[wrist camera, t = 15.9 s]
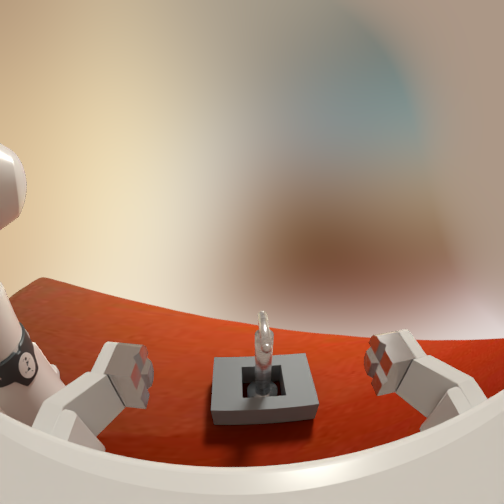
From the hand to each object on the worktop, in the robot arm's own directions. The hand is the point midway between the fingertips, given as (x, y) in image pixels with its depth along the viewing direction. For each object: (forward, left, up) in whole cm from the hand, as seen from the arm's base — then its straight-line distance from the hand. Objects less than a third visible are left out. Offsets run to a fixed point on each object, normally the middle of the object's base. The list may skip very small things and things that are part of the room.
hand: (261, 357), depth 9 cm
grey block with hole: (+2, +18, -28) cm, 33 cm away
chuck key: (+2, +18, -28) cm, 33 cm away
